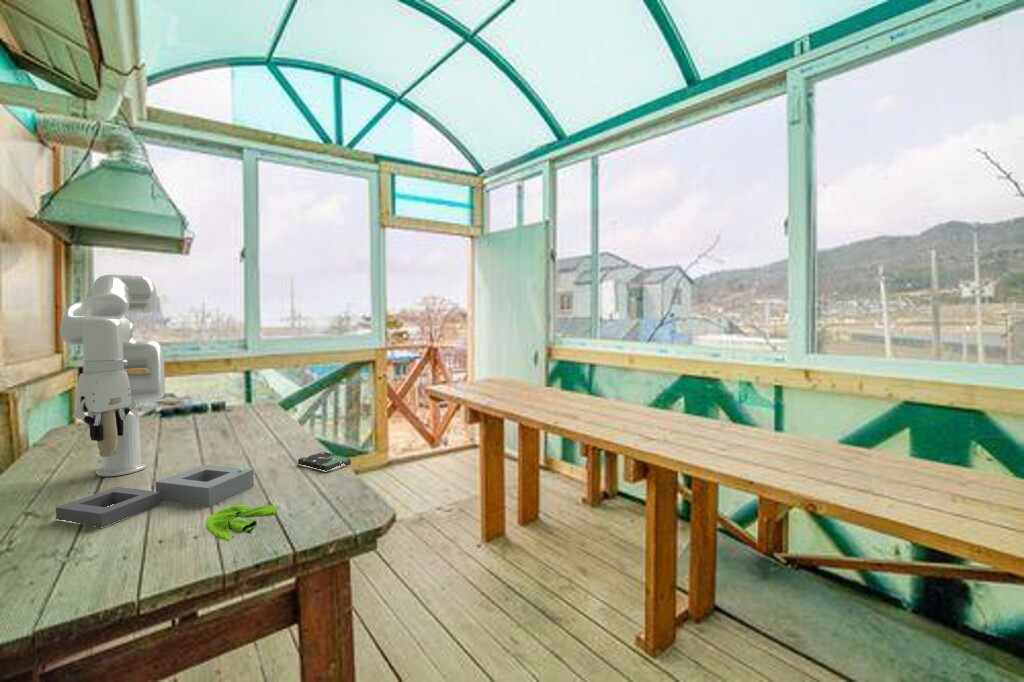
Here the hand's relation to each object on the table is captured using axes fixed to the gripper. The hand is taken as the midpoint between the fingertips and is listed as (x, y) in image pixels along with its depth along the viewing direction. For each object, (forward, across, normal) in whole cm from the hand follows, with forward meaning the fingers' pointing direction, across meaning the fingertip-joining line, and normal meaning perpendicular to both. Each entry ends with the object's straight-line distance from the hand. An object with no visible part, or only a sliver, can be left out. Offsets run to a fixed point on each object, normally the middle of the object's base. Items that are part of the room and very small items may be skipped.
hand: (107, 437), depth 117 cm
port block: (+20, -16, +13) cm, 29 cm away
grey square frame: (+20, 0, +1) cm, 20 cm away
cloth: (+20, -4, +38) cm, 43 cm away
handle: (+5, 0, 0) cm, 5 cm away
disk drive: (+20, -46, +30) cm, 59 cm away
